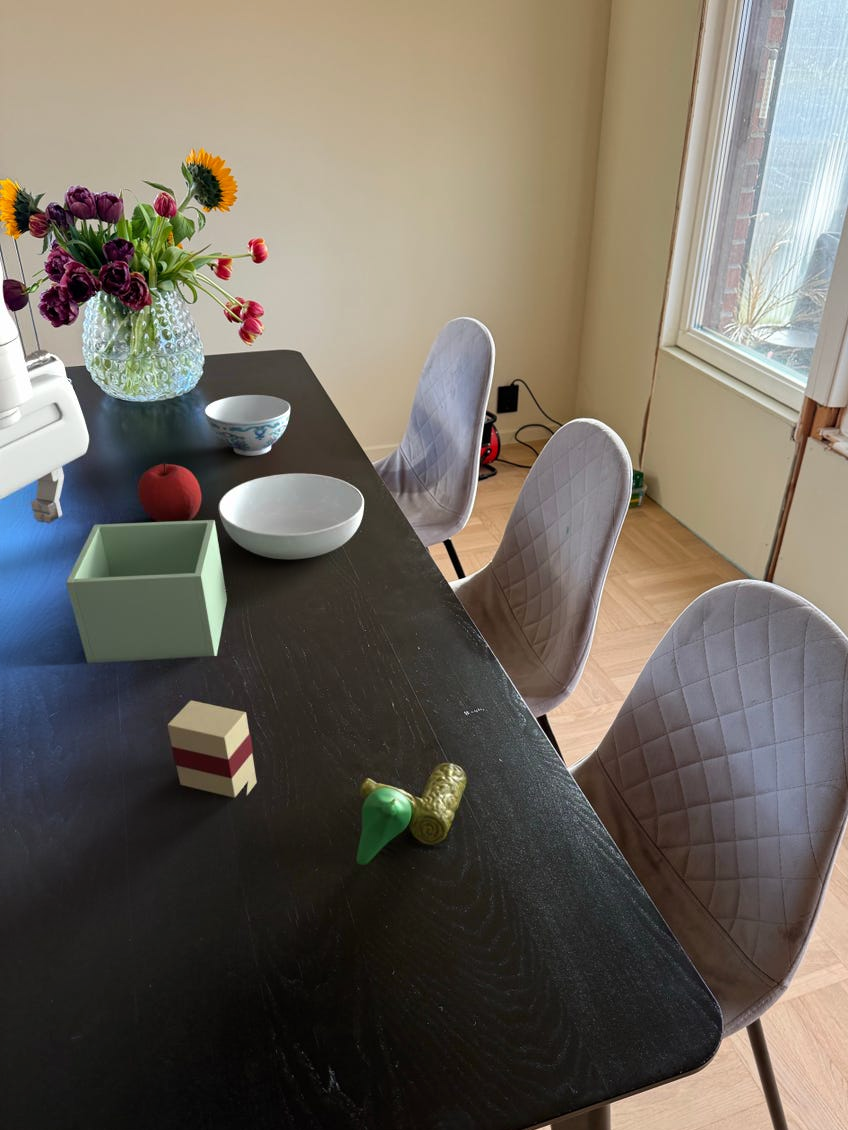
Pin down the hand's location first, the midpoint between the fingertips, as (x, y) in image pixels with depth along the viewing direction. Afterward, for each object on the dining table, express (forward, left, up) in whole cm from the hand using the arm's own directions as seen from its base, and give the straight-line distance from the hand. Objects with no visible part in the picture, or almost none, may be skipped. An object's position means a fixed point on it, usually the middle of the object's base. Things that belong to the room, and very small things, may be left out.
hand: (11, 542), depth 74 cm
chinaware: (+11, +89, -27) cm, 93 cm away
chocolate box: (+14, -3, -27) cm, 30 cm away
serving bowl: (+20, +50, -27) cm, 60 cm away
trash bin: (+4, +27, -27) cm, 38 cm away
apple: (+1, +60, -27) cm, 66 cm away
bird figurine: (+33, -13, -27) cm, 44 cm away
